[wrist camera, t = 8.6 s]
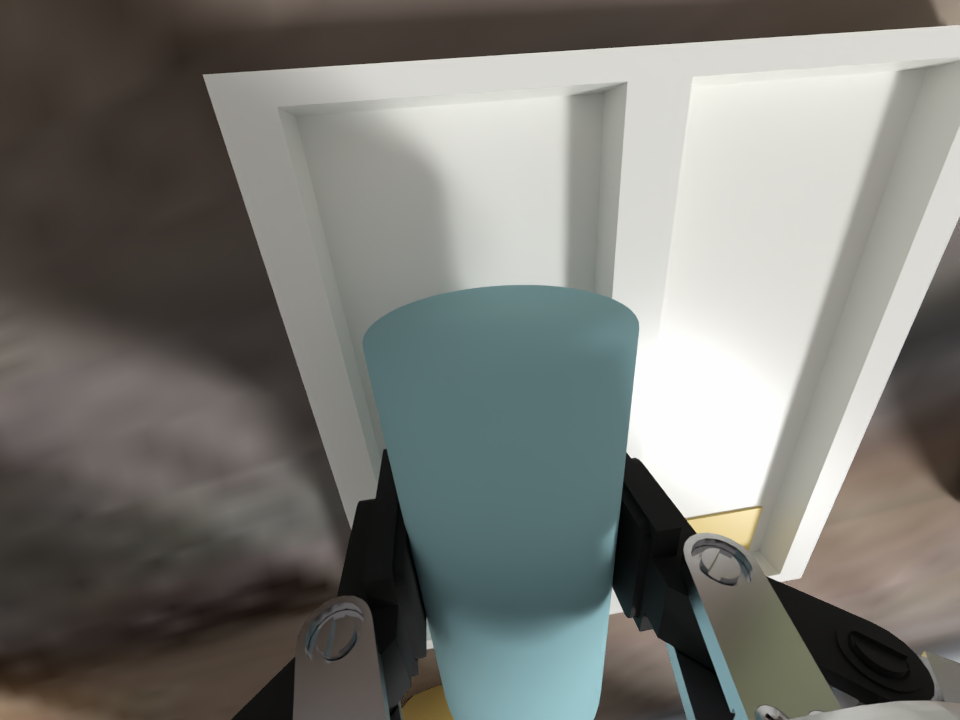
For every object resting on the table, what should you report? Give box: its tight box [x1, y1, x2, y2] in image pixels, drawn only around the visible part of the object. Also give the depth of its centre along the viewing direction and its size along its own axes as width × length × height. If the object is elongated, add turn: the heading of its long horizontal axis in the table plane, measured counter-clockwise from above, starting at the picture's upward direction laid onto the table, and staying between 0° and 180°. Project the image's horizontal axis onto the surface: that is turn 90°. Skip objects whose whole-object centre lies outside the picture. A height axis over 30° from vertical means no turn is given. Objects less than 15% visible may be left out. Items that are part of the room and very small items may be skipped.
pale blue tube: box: [362, 285, 639, 720], centre depth 9 cm, size 11×5×5 cm, turn 5°
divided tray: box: [203, 25, 960, 649], centre depth 13 cm, size 20×19×2 cm
